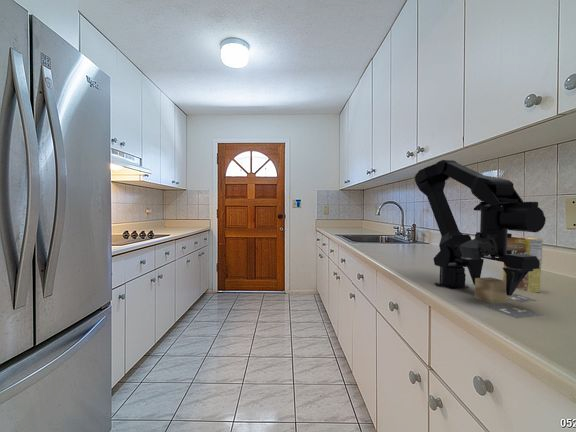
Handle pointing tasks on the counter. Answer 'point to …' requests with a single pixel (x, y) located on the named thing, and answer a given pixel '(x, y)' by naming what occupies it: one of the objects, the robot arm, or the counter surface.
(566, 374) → the counter surface
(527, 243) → the candy box
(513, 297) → the code tile
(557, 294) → the counter surface
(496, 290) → the oak block
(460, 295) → the counter surface
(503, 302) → the rubber mat
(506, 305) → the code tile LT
